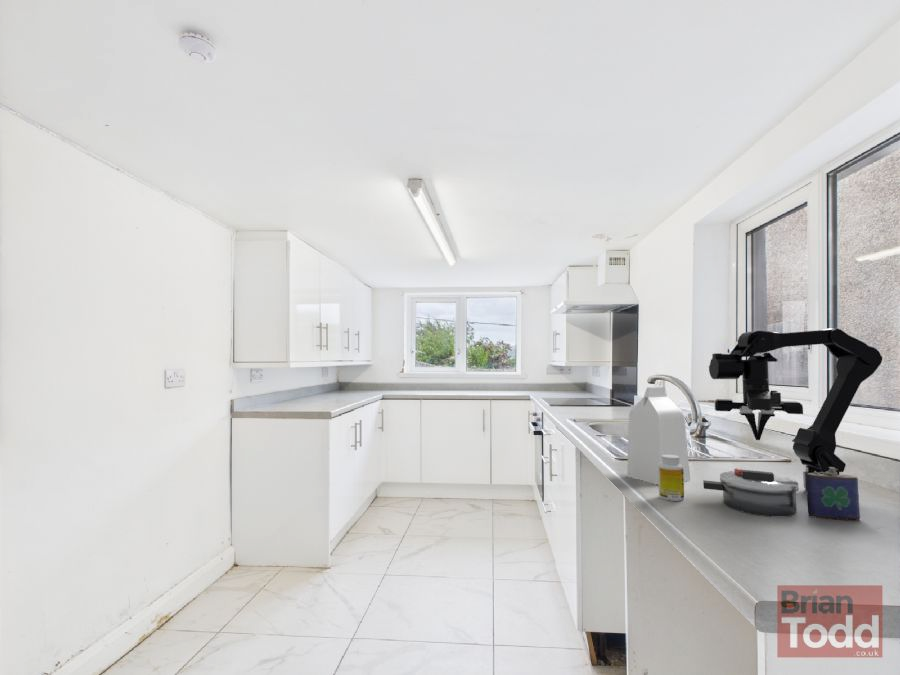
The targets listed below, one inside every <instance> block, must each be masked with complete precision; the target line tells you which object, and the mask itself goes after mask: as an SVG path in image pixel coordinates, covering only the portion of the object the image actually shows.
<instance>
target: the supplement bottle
mask: <svg viewBox="0 0 900 675" xmlns="http://www.w3.org/2000/svg"><path fill="white" fill-rule="evenodd" d="M679 463H680V460H679V456H676V455H662V463H659V465H658V476H659V485H658V495H659V498H661V499H662V500H665V501H669V500H670V501H671V502H681V501H683V500H684V499H685V482H684V474H683V466H682V465H681V464H679Z"/></svg>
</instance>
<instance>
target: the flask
mask: <svg viewBox="0 0 900 675" xmlns="http://www.w3.org/2000/svg"><path fill="white" fill-rule="evenodd" d="M829 468H830V469H829V471H826V472H825V473H824V472H821V473H823V474H819V473H820V472H819V473H817V472H816V471H814V473H807V474H806V485H807V490H806V500H807V514H808V516H809V517H811V518H815V517H816V519H823V518H825V519H826V520H839V521H860V519H861V515H860V514H861V513H860V501H859V500H860V499H859V498H860V496H859V495H860V494H859V480H858V479H859V478H858V477H857V476H855V475H849V474H839V475H837V472H836V470H838V469H835V468H834V467H829Z"/></svg>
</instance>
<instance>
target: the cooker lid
mask: <svg viewBox="0 0 900 675" xmlns="http://www.w3.org/2000/svg"><path fill="white" fill-rule="evenodd" d="M719 482H722V483H723V484H725V485H728V486H731V487H734V488H738V489H743V490H748V491H755V492H763V493H793V492H796V493H797V492H798V491H799V482H798V481H797V480H794V479H792V478H789V477H786V476H782V475H778V474H777V475H776V474H774V472H772V471H764V470H763V471H760V470H749V469H742V468H734V471H725V472H721V473H720V474H719Z"/></svg>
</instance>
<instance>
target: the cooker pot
mask: <svg viewBox="0 0 900 675" xmlns="http://www.w3.org/2000/svg"><path fill="white" fill-rule="evenodd" d="M702 484H703V489H705V490H711V491H712V490H714V491H722V497H723V498H722V501H723V502H722V503H723V504H724V505H725V506H726V507H728V508H730V509H732V510H734V511H738V512H742V513H746V514H749V513H750V515H755V514H756V516H761V515H763V516H762V517H771V516H787V517H793V516H795V515H797V513H798V512H797V511H798V510H797V492H793V493H763V492H755V491H748V490H743V489H738V488H734V487H731V486H728V485H725V484H723V483H722V482H721V481H714V480H713V481H712V480H703V482H702ZM792 515H793V516H792Z"/></svg>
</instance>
